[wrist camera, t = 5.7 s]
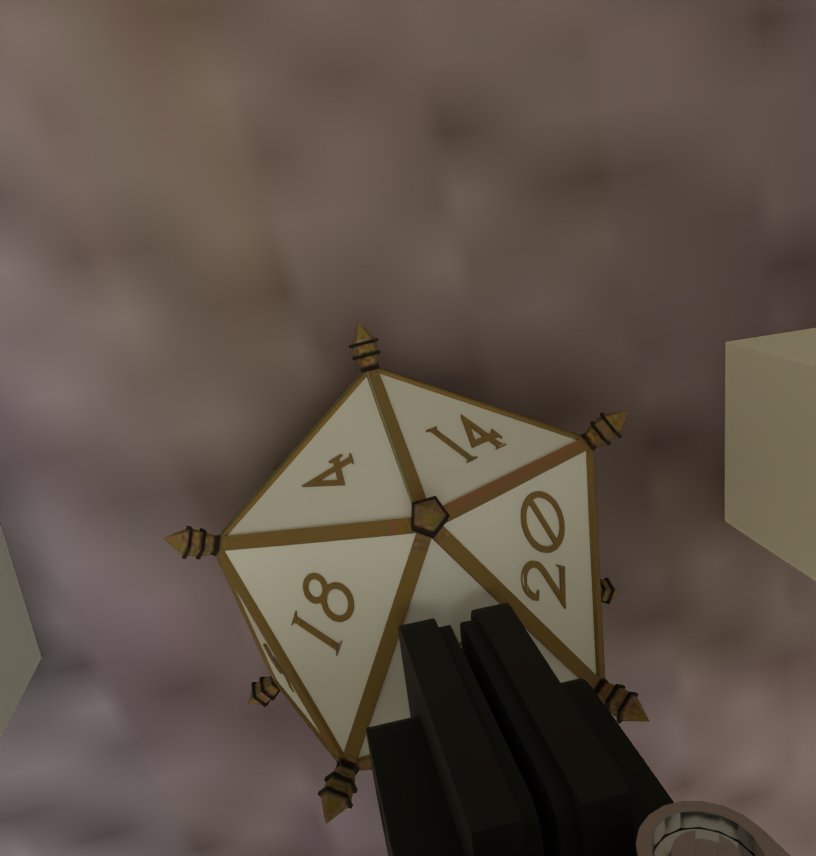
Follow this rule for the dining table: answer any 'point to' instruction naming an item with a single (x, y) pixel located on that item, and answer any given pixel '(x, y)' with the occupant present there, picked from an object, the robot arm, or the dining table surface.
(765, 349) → the off-white block
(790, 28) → the dining table surface
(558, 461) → the game die
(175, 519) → the dining table surface
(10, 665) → the grey-green block
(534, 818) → the robot arm
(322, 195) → the dining table surface
